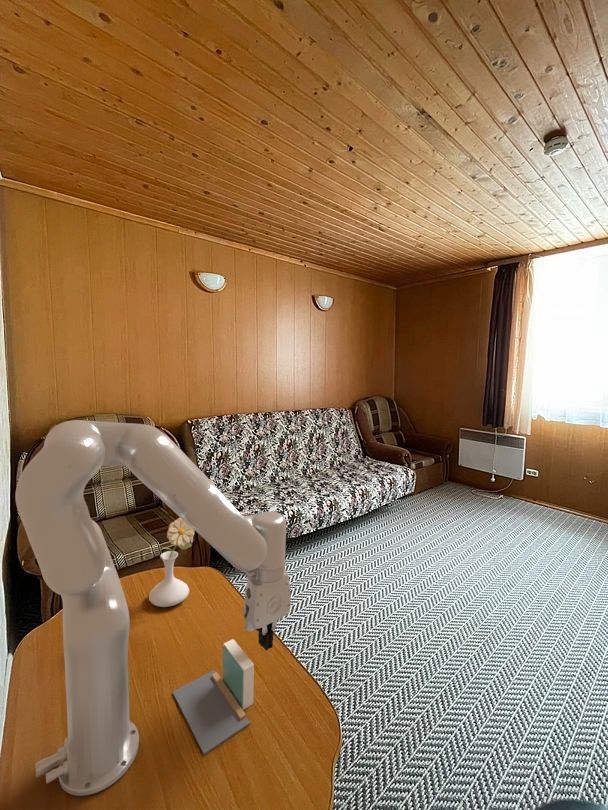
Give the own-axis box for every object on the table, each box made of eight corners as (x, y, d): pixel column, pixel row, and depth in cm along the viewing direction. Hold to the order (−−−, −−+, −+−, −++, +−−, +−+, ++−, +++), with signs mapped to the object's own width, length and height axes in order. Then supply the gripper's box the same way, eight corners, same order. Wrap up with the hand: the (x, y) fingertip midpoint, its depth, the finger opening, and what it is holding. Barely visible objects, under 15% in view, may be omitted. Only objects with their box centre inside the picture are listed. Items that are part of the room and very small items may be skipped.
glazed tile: (242, 710, 76) (242, 670, 75) (222, 681, 83) (222, 644, 82) (253, 703, 78) (254, 664, 77) (232, 675, 84) (233, 638, 84)
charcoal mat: (204, 755, 67) (204, 750, 67) (172, 693, 79) (172, 689, 79) (249, 724, 73) (250, 719, 73) (214, 671, 85) (214, 667, 85)
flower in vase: (145, 613, 104) (144, 528, 101) (151, 589, 115) (151, 512, 112) (194, 607, 107) (194, 525, 105) (195, 584, 118) (195, 509, 116)
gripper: (247, 589, 74) (245, 672, 76) (304, 565, 84) (301, 640, 86) (229, 572, 80) (228, 650, 82) (285, 552, 90) (282, 622, 92)
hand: (265, 645), depth 84 cm, fingers closed
